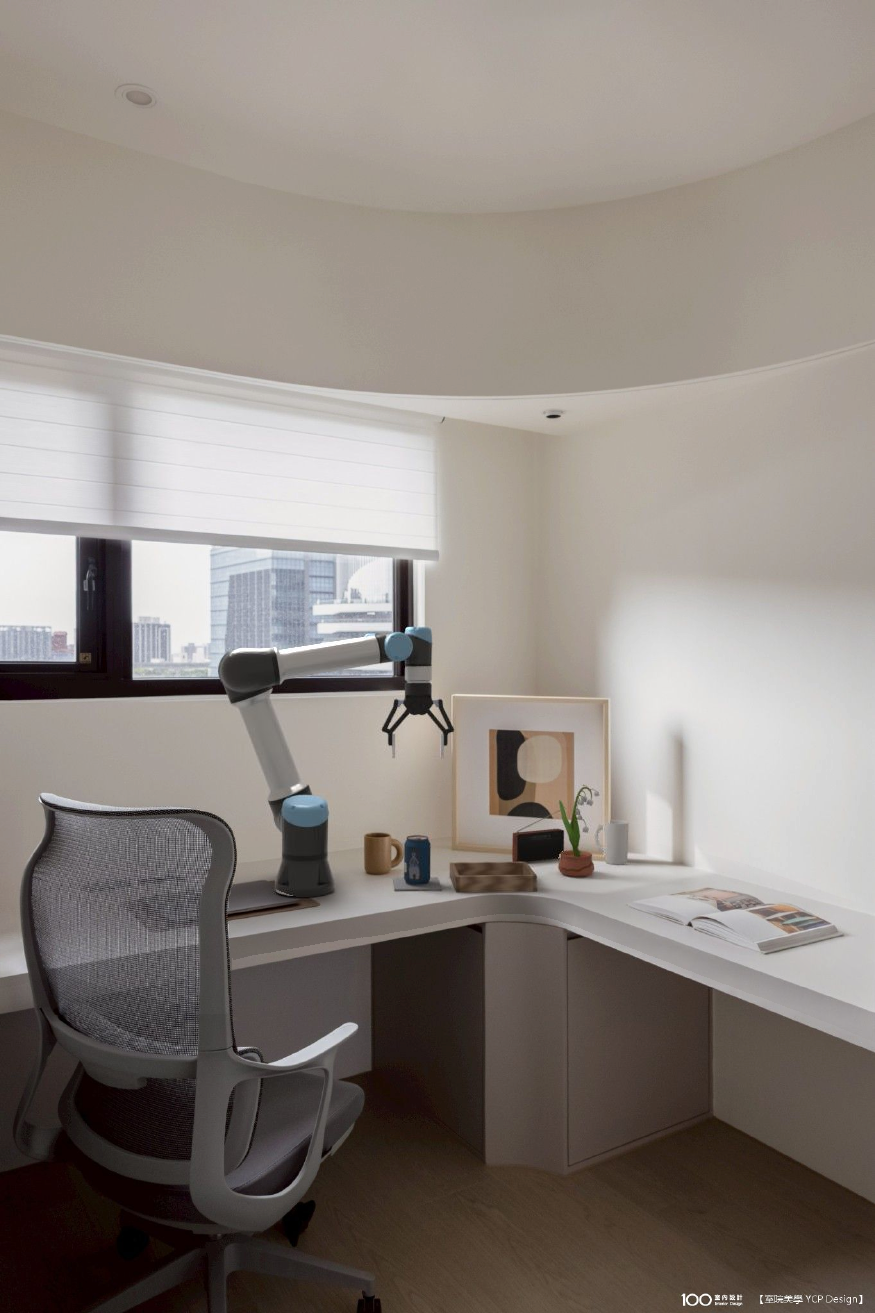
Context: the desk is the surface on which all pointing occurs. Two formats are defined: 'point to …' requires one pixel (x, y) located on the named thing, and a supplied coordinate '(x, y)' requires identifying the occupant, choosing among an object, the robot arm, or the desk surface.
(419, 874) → the soda can
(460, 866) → the walnut crate
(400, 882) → the grey mat
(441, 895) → the desk surface
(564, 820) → the potted flower
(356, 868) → the desk surface
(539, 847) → the radio
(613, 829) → the mug
